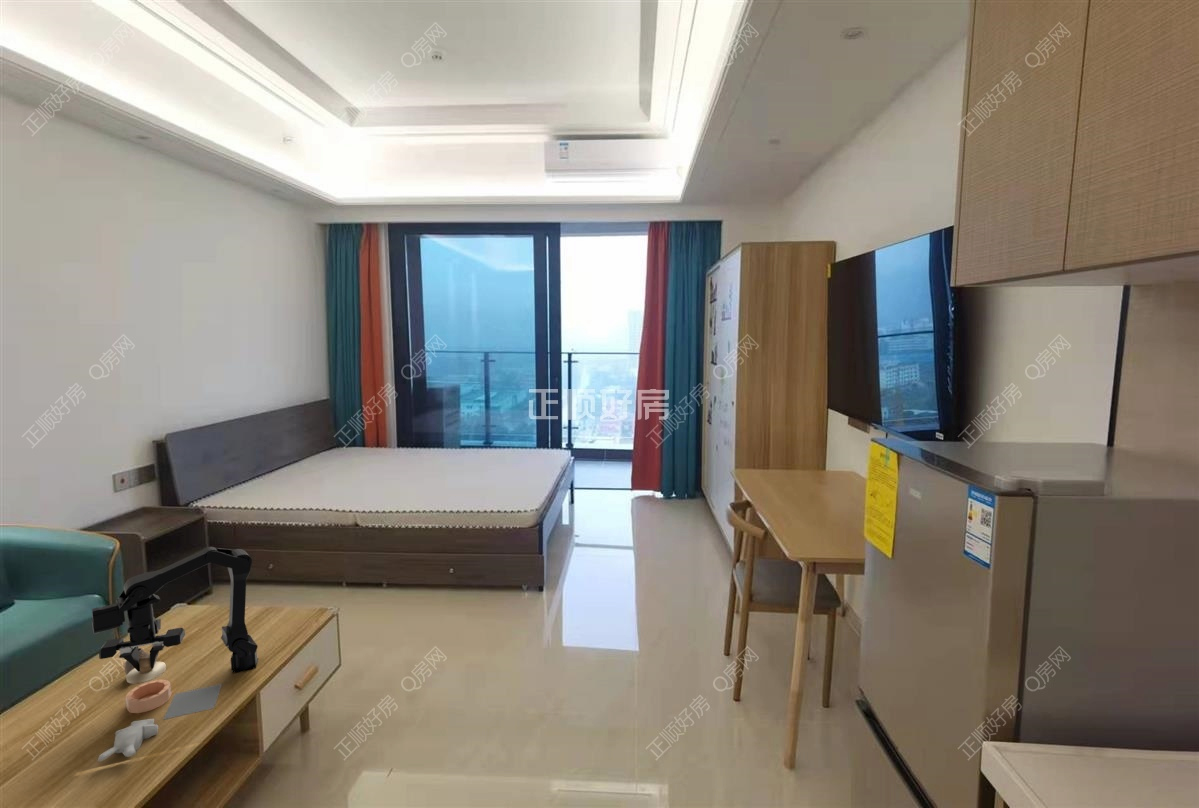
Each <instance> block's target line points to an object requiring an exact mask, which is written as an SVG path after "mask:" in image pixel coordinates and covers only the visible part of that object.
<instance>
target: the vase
mask: <svg viewBox="0 0 1199 808" xmlns="http://www.w3.org/2000/svg"><path fill="white" fill-rule="evenodd" d="M138 653H139V658H141V657H143V656H147V655H150V652H147V651H146V650H144V649H143V648H140V647H138ZM133 669H134V667H133V666H132V665H131V663H129V662H128V661H127V660H126V661H125V664H124V673H125V675H126V676H127V674H128V673H129V672H130V671H131V670H133Z"/></svg>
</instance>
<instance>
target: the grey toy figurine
mask: <svg viewBox="0 0 1199 808" xmlns="http://www.w3.org/2000/svg"><path fill="white" fill-rule="evenodd" d="M158 733H159V725H158V724H155V718H147V719H141V720H134V721H132V722H131V723H130V725H129V726H127V727H125V728H122V729H119V730H116V731H115V735H114V736H115V738H114V743H113V746H112V747H111V748H108V749H107V750H106V751H104V752H102V753H101V754H99V756H98V758H97V762H102V761H104V760H106V759H108V758H109V757H110V756H112V755H113V754H114V753H115V754H123V755H124V757H126V758H129V757H133V756H134V755H136V754H137V751H138V750H139V748H140V747H142V744H143V741H144V740H146V739H149V738H151V737H154V736H156V735H158Z"/></svg>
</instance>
